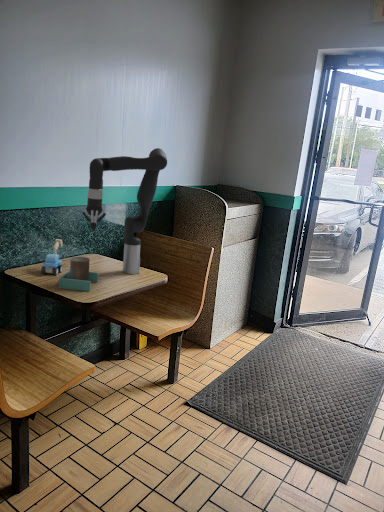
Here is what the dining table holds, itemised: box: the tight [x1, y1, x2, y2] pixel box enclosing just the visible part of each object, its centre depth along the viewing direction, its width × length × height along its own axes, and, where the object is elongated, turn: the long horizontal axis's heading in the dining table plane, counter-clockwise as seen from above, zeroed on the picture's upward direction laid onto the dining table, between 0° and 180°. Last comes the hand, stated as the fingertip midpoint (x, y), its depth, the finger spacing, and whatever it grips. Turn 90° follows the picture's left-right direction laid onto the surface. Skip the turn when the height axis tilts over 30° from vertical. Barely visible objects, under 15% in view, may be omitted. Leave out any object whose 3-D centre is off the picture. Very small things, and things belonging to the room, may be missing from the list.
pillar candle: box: [69, 256, 90, 281], centre depth 219 cm, size 10×10×15 cm
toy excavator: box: [40, 238, 64, 276], centre depth 235 cm, size 9×17×17 cm, turn 174°
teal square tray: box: [58, 269, 99, 292], centre depth 219 cm, size 16×17×5 cm
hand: (93, 229), depth 227 cm, fingers closed
